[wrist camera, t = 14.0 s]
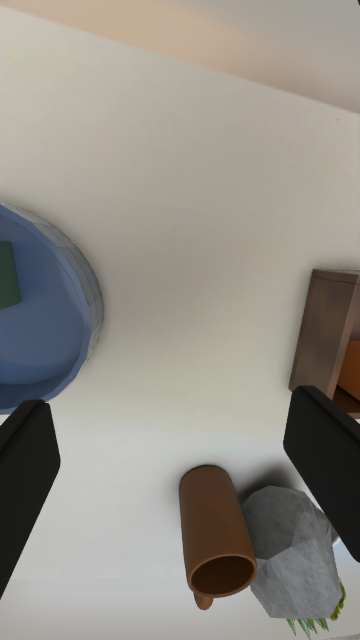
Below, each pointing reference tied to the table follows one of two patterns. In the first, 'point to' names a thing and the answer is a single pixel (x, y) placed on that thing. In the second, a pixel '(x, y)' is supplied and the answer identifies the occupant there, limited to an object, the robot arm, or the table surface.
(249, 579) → the mug
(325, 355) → the holder
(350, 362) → the packet orange
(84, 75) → the table surface
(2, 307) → the packet green
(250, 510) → the potted plant
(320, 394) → the robot arm
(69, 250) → the blue round dish
